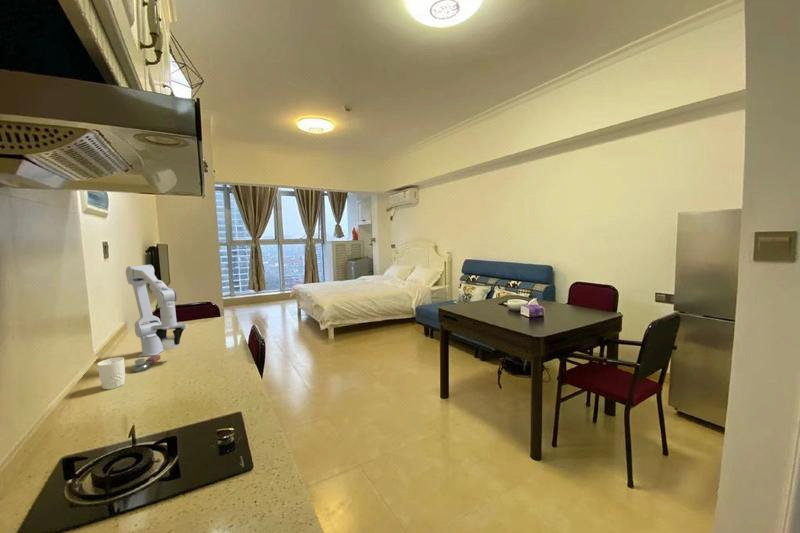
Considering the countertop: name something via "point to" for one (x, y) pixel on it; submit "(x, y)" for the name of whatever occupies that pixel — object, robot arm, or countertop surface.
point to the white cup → (112, 373)
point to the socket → (169, 342)
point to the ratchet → (144, 364)
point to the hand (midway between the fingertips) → (171, 344)
